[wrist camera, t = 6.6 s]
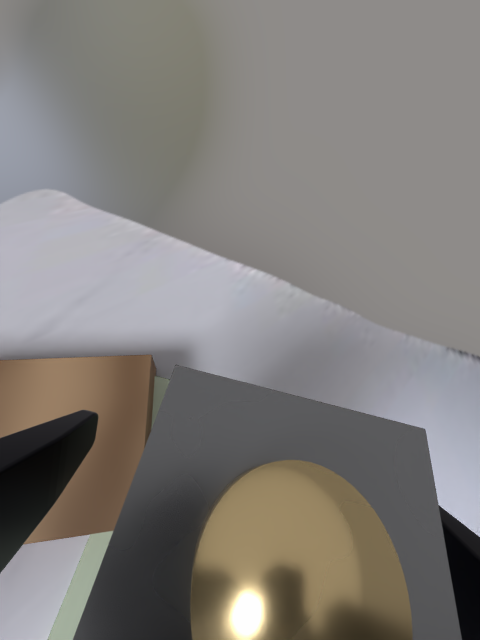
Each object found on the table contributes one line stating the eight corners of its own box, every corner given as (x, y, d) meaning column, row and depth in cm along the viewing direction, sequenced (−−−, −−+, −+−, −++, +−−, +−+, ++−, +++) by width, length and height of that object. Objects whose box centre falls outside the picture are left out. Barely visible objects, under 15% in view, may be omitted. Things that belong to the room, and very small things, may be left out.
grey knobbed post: (275, 462, 13) (453, 422, 4) (261, 586, 10) (632, 1177, 2) (188, 440, 13) (172, 349, 4) (153, 559, 10) (-88, 1013, 2)
